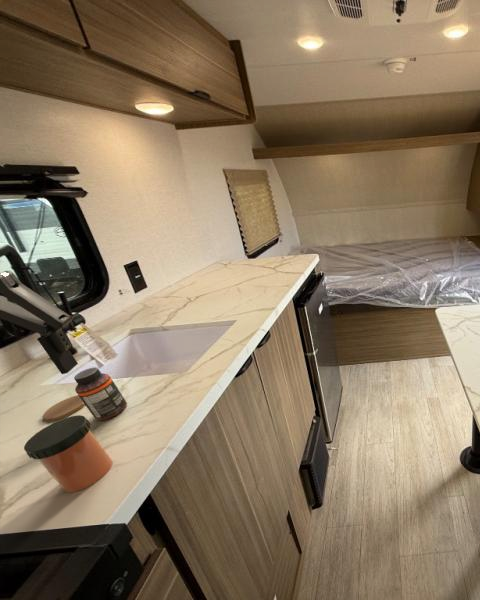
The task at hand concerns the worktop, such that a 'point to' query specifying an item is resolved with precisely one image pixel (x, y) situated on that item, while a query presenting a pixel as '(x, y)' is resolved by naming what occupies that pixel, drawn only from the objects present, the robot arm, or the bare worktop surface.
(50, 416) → the coaster
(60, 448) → the jam lid
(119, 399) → the supplement bottle
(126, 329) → the worktop surface
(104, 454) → the jam jar
